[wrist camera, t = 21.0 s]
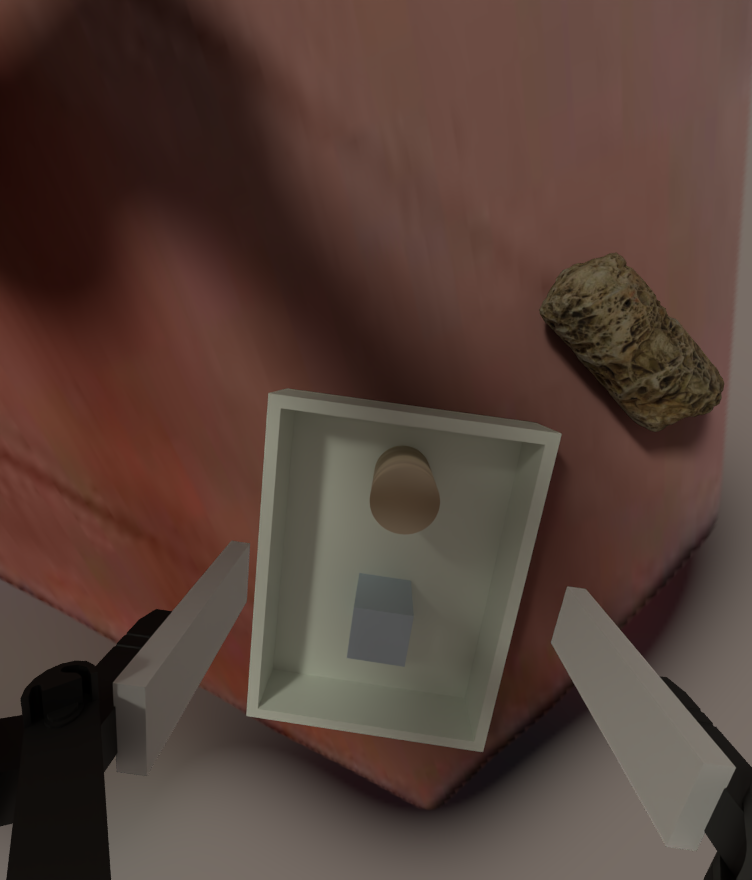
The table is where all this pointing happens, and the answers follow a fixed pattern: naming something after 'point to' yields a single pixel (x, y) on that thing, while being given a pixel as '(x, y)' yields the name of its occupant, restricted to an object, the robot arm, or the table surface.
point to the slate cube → (381, 620)
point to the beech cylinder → (404, 491)
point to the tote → (391, 565)
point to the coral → (631, 343)
